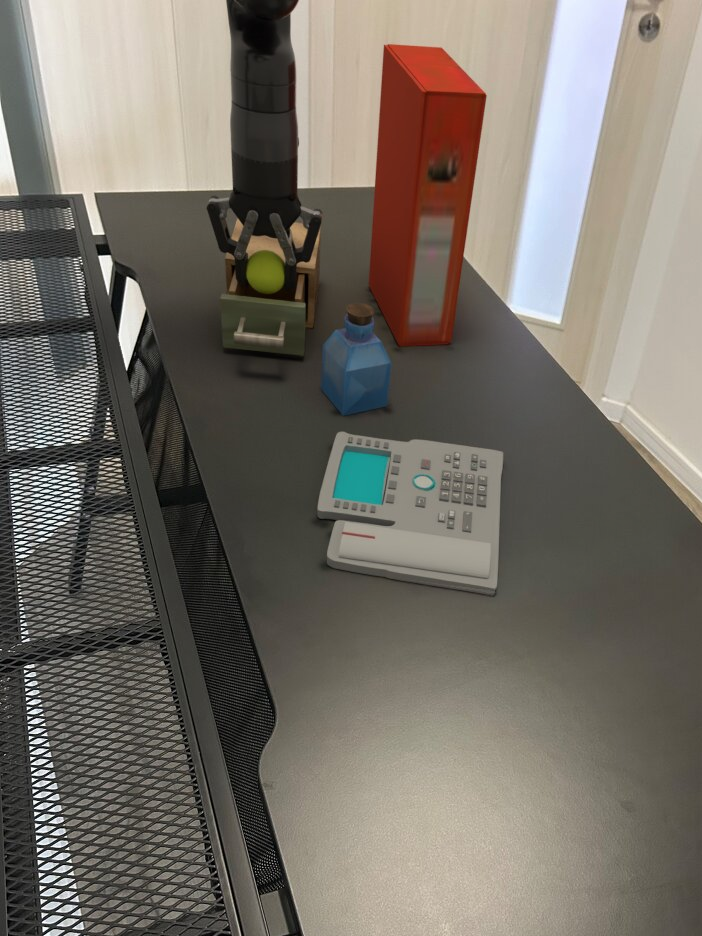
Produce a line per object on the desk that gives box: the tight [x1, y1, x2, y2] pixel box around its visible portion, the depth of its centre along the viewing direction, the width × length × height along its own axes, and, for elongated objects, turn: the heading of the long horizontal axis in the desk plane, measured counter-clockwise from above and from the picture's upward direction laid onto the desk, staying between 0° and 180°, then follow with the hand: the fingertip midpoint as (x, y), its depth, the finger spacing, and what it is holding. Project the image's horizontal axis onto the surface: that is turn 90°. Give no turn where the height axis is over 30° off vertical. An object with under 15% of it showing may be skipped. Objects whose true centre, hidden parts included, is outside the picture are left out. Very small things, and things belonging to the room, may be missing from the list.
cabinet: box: [224, 217, 322, 329], centre depth 119 cm, size 14×12×9 cm
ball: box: [246, 250, 285, 294], centre depth 108 cm, size 5×5×5 cm
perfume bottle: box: [320, 302, 392, 417], centre depth 104 cm, size 6×6×12 cm
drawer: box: [219, 271, 306, 357], centre depth 111 cm, size 18×10×7 cm, turn 3°
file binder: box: [368, 43, 488, 347], centre depth 113 cm, size 8×17×32 cm, turn 18°
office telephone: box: [316, 431, 504, 596], centre depth 94 cm, size 23×3×20 cm
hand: (266, 286), depth 110 cm, fingers closed on ball, 4 cm apart
